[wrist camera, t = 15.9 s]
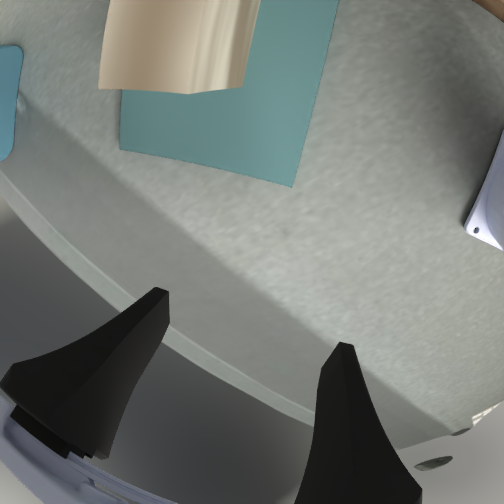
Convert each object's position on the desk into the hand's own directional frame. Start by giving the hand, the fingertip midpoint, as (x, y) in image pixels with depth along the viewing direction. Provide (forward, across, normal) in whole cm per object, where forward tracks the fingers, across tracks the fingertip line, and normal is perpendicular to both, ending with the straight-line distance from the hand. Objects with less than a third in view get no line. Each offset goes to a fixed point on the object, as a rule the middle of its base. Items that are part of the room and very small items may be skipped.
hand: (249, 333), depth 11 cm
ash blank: (+9, +6, -11) cm, 15 cm away
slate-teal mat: (+9, +6, -11) cm, 16 cm away
